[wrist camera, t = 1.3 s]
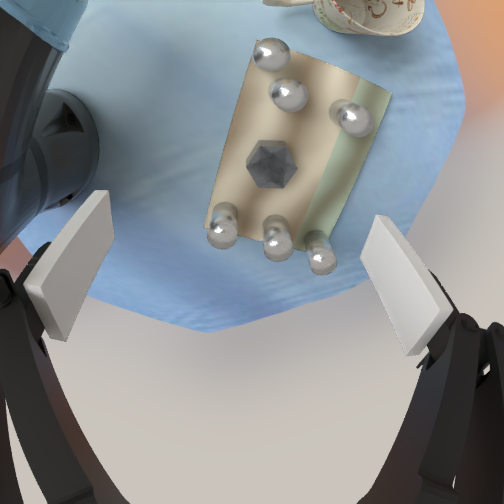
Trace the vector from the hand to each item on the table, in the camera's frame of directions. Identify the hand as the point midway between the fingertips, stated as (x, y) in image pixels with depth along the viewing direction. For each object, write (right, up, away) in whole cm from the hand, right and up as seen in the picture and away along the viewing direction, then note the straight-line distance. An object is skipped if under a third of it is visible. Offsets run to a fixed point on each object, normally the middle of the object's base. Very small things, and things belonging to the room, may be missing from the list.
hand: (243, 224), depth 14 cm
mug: (+7, +23, +7) cm, 26 cm away
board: (+5, +9, +17) cm, 20 cm away
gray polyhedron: (+2, +8, +16) cm, 18 cm away
